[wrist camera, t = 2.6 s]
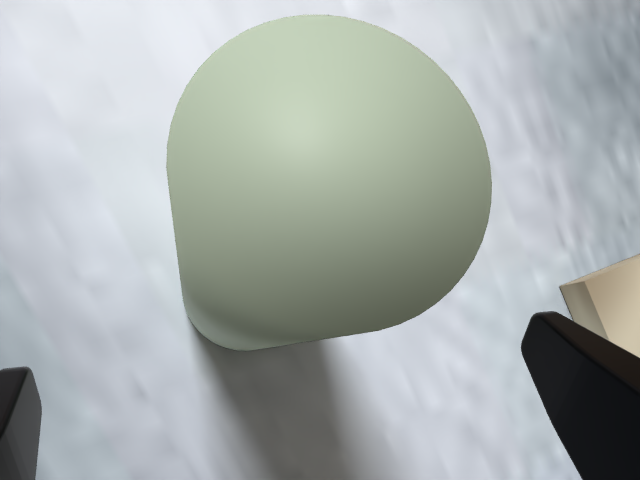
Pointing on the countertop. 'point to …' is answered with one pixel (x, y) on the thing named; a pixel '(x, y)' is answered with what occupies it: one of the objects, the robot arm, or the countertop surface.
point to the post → (321, 184)
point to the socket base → (609, 303)
